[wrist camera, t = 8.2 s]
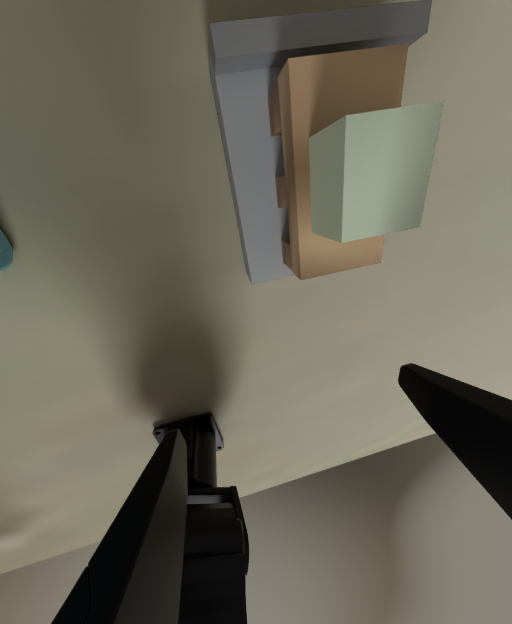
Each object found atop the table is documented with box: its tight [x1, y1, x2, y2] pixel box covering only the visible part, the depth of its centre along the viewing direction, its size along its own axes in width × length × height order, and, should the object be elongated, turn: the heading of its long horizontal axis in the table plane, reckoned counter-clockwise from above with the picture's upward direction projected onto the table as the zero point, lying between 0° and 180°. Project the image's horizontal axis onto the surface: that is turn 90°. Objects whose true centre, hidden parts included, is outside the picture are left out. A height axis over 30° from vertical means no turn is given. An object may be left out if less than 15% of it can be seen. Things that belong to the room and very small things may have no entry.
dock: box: [210, 0, 432, 284], centre depth 14 cm, size 12×10×4 cm
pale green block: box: [309, 101, 444, 243], centre depth 9 cm, size 4×4×3 cm
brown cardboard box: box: [267, 44, 408, 280], centre depth 12 cm, size 9×5×4 cm, turn 9°
